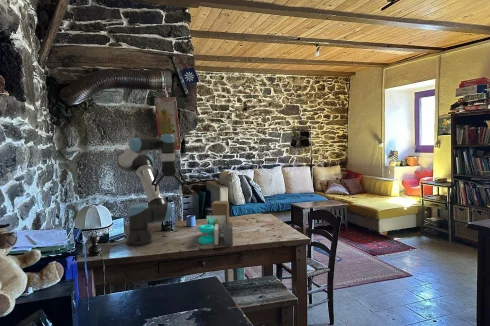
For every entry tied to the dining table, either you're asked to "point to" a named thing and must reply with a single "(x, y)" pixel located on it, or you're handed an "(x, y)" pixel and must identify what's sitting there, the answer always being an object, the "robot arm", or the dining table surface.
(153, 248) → the dining table surface
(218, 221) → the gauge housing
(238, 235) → the dining table surface
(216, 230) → the gauge plate
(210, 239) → the donuts
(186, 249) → the dining table surface
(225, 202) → the wooden block
